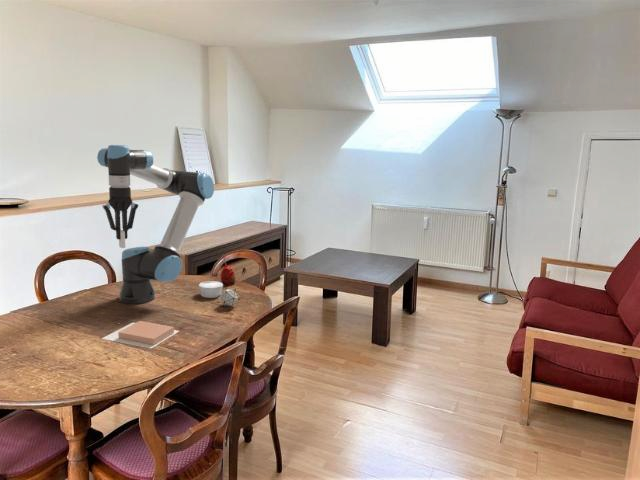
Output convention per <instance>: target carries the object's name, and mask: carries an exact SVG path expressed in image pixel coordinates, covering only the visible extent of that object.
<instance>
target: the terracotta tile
mask: <svg viewBox="0 0 640 480" xmlns="http://www.w3.org/2000/svg"><path fill="white" fill-rule="evenodd" d="M134 323H135V324H133V325H131V326H129V327H127V328H125V329H123V330H122V331H120V332H118V336H119V338H122V339H127V340H132V341H137V342H142V343H147V344H152V345H155V344H156V343H158V342H160V341H161V340H163V339H164V338H166V337H168V336H169V335H171V334H173V333H174V330H175V327H174V326H170V325H165V324H159V323H155V322H149V321H142V320H139V321H137V322H134Z"/></svg>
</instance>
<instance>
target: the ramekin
mask: <svg viewBox="0 0 640 480" xmlns="http://www.w3.org/2000/svg"><path fill="white" fill-rule="evenodd" d="M223 287H224V284H223V283H222V281H221V282H220V281H214V280H213V281H212V280H209V281H202V282H200V283H198V289H199V294H200V295H201V297H202V298H205V299H206V298H207V299H208V298H209V299H215V298H218V295H219V297H220V295H221V294H222V293H223Z"/></svg>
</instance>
